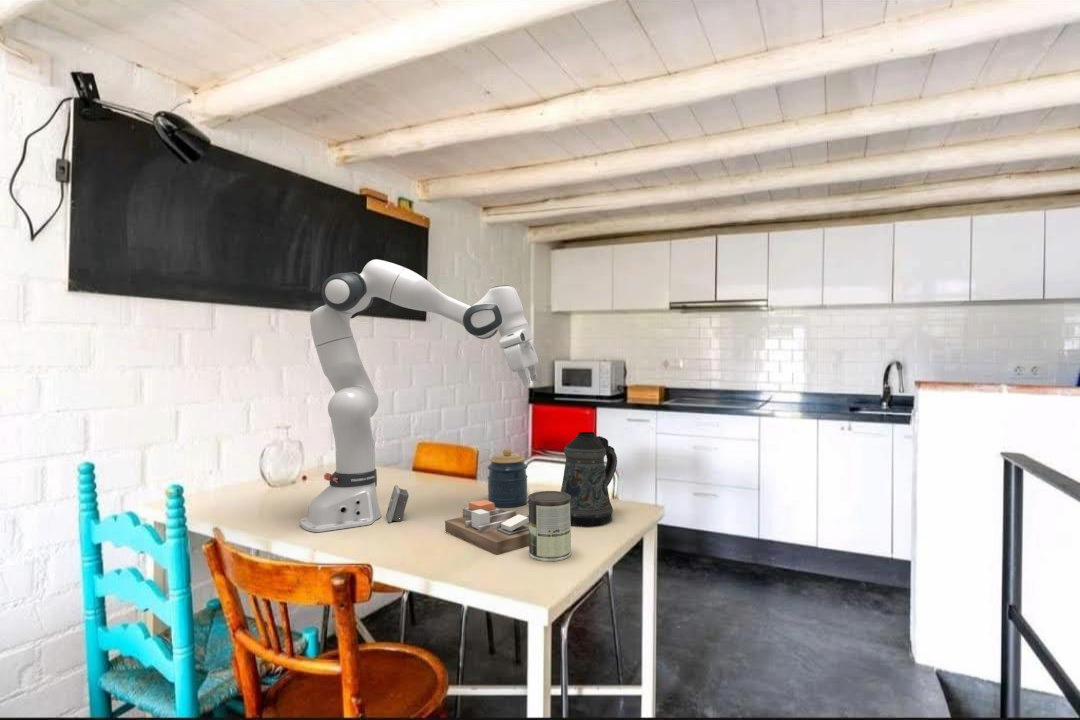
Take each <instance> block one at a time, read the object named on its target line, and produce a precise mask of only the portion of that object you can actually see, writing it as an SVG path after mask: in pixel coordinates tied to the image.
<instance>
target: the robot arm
mask: <svg viewBox="0 0 1080 720" xmlns="http://www.w3.org/2000/svg"><path fill="white" fill-rule="evenodd" d="M321 297H322V299H323V302H324V303H325V304H324V305H321V306H319V307H317V308H315V309H314V310H313V311H312V312H311V314H310V316H309V323H310V331H311V337H312V339H313V344H314V347H315V349H316V350H315V351H316V353H317V354H316V355H317V356H318V360H319V363H320V366H321V369H322V372H323V374H324V376H325V377H326V378H327V380H328V381H329V383H330V385H331V387H332V389H333V391H334V394H333V396H331V398H330V399H329V402H328V405H327V413H328V416H329V418H330V423H331V429H332V434H333V438H334V444H335V471H334V472H333V473H332V474H331V473H329V472H325V473H324V474H323V479H324V480H325V481H329V485H328V486H327V487H326V488H325V489H324V490H323V491H322V492H320V493H319V494H318V495H317V496H315V497H314V498H313V499H312V500H311V502H310V503H309V506H308V514H307V517H306V516H305V517H303V518H301V519H300V521H299V522H300V523H299V526H300V527H301V528H303V529H304V530H306V531H308V532H313V533H323V532H329V531H335V530H343V529H349V528H355V527H362V526H368V525H372V524H374V522H375V521H376V520H378V519H379V518H381V517H382V513H381V509H380V505H379V502H378V495H377V485H378V483H377V482H378V475H377V474H378V473H377V468H376V456H375V455H376V450H375V449H376V447H375V440H374V435H373V432H372V431H373V430H372V424H371V418H372V417H373V416H374V415H375V414H376V412H377V410H378V408H379V397H378V395H377V393H376V391H375V389H374V388H375V387H374V386H373V384H372V381H371V380H370V377H369V375H368V373H367V371H366V369H365V367H364V365H363V362H362V359H361V356H360V353H359V350H358V348H357V343H356V342H355V338H354V335H353V331H352V328H351V324H350V323H351V322H350V320H351V319H354V318H356V317H357V316H359V315H360V314H362V313H363V312H366V311H367V309H369V308H370V307H371V305H372V304H373V300H374V298H378V299H382V300H385V301H387V302H389V303H391V304H394V305H396V306H399V307H401V308H406V309H411V310H415V311H422V312H428V313H432V314H433V313H434V314H437V315H438V316H441V317H445V318H446V319H449V320H451V321H453V322H455V323H458V324H460V325H462V326H463V327H464V329H465V331H467V333H469V334H470V335H471V336H474V337H475V338H477V339H481V340H487V339H491V338H493V337H494V336H495V335H496V334H497V333H498V332H499V335H500V340H499V342H498V344H499V346H500V349H503V353H504V356H505V359H506V362H507V364H508V367H509V369H510V371H511V372H512V373H516V372H517V374H518V376H519V379H521V382H522V385H523V386H529V385H530V383H531V382H535V381H537V380H538V378H539V377H538V375H537V374H538V373H537V367H536V365H537V364H539V358H538V354H537V351H536V349H535V346H534V344H533V342H532V341H531V340H533V339H534V338H533V335H532V332H531V328H530V325H529V322H528V320H527V319H526V317H525V309H524V307H523V304H522V301H521V298H520V296H519V294H518V291H517V289H516V288H515V287H514V286H512V285H509V284H506V285H505V284H504V285H497V286H493V287H490V288H489V289H488V291H487V292H486V294H485V295H484V296H483V297H482V298H480V300H478V301H477V302H476V303H474V304H473V305H469V304H466V303H464V302H462V301H459V300H457V299H455V298H454V297H450V296H448V295H447V294H445V293H443V292H442V291H440V290H439V289H438V288H436V286H434V285H433V284H432V283H431V282H430V281H429V280H428V279H426V278H424V277H423V276H421V275H420V274H418V273H417V272H415V271H413V270H411V269H409V268H407V267H405V266H402V265H399V264H396V263H393V262H389V261H387V260H382V259H372V260H370V261H368V262H367V263H366V264H365V266H364V267H363V268H362V271H361V272H360V273H359V272H357V271H351V272H340V273H335V274H332V275H331V276H329V277H327V278H326V279H325V280H324V282H323V284H322V286H321ZM527 370H528V371H529V377H528V373H527Z"/></svg>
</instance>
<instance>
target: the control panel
mask: <svg viewBox="0 0 1080 720" xmlns="http://www.w3.org/2000/svg"><path fill="white" fill-rule="evenodd" d="M471 511H472V510H469V506H468V507H464V508H462V516H460V517H455V518H452V519H448V520H445V521H444V523H445V524H444V526H445V527H444V528H445V529H444V532H445V531H446V532H445V533H447V532H448V533H447V534H449V533H450V535H452V536H454V537H456V538H458V537H459V538H458V539H460V538H461V540H462V541H465V542H468V543H469V542H470V543H469V544H472V545H474V546H477V547H478V548H481V549H483V550H486V551H488V552H490V553H492V554H495V555H496V556H498V555H500V554H504V553H508V552H511V551H514V550H519V549H522V548H525V547H529V522H528V523H526V524H524V525H522V526H520V527H518V528H517V529H515V530H513V531H509V530H506V529H503V528H501V523H503V522H504V521H506V520H508V519H510V518H512V517H514V516H516V515H517V510H514V509H513V510H509V511H507V510H503V509H502V508H500V507H496V506H494V510H491V511H488V512H490V524H486V525H481V526H478V529H477V528H474V527H472V518H471ZM522 516H525V517H528V519H529V514H524V515H522Z"/></svg>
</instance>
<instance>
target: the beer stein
mask: <svg viewBox="0 0 1080 720" xmlns="http://www.w3.org/2000/svg"><path fill="white" fill-rule="evenodd" d="M563 448H564V449H563V451H564V456H565V464H564V470H563V478H562V484H561V489H560V492H565V493H568V494H569V495H570V496H571V500H570V516H571V527H577V528H578V527H579V528H581V527H582V528H592V527H600V526H604V525H607V524H609V523H611V521H612V515H613V512H614V507H613V506H612V502H611V500H610V496H609V494H610V493H609V488H608V487H609V485H610V483H611V481H612V480H613V477H614V475H615V474H616V470H617V466H618V457H617V454H616V452H615V448H614V447H612V446H611V445H609V440H608V439H607V438H606V437H603V436H601V435H596V433H595V432H592V431H584V432H583V431H581V432H577V435H576V437H575V438H574V439H572V440H571V441H570V442H569V443H568V444H566V445H565V447H563ZM605 456H606V464H605Z"/></svg>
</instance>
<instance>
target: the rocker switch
mask: <svg viewBox="0 0 1080 720" xmlns="http://www.w3.org/2000/svg"><path fill="white" fill-rule="evenodd" d="M528 522H529V519H528V517H525V516H523V515H522V514H519V513H518V514H516V516H514V517H512V518H510V519H508V520H506V521H504V522H503V523H501V528H503V529H506V530H509V531H513V530H515V529H517V528H518V527H520V526H522V525H524V524H526V523H528Z"/></svg>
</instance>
